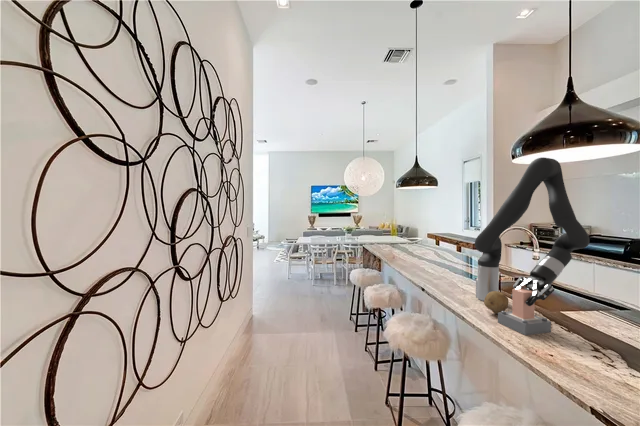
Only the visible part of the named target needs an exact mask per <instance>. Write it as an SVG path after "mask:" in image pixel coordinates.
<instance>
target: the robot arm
mask: <svg viewBox="0 0 640 426" xmlns="http://www.w3.org/2000/svg"><path fill="white" fill-rule="evenodd" d="M541 183H543V184H544V185H545V188H546V189H547V195H548V207H549V212H550V214H551V217H552V219H553V223H554V224H555V226H556V227H557V228H561V229H563V230H564V232H565V233H562V234H560V236H558V237H557V238H556V240H555V241H554V243H553V245H552V247H551V249H550V250H549V252H547V254H546V255H545V256H544V257H542V259H541V260H540V261H538V263H537V264H536V265H535V266H534V267H533V269H532V270H530V272H529V276H528V277H526V278H525V277H523V276H519V277H518V279H516V281H515V282H514V283H513V286H512V288H513V289H526V290H529V291H533V294H532V295H533V296H532V295H531V296H530V297H529V298H528V299H527V301H526V302H525V303H526V304H527V305H528V306H531V305H533V304H534V303H535V304H536V302H537V301H539V300H541V301H545V300H546V299H547V298H548V297H549V296H550V295H551V294H552V293H554V291H555V288H554V287H553V286H552V284H553V283H554V281H556V279H557V278H558V277H559V276H560V275H561V273H562V272H563V270H564V269H565V268H566V267H567V266H568V265H569V263H570V262H571V260H572V257H573V255H572V254H571V253H572V252H573V251H576V250H580V249H581V250H582V249H585V248H588V246H589V245H590V235H589V233H588V232H587V230H586V229H585V228H584V227H583V225H582V224H581V223H580V222H579V220H578V219H577V217H576V215H575V211H574V209H573V207H572V204H571V202H570V199H569V196H568V193H567V190H566V185H565V181H564V176H563V170H562V166H561V163H560V162H559V160H557V159H554V158H549V157H538V158H535V159H534V160H532V161H531V162H530V163H529V165H528V166H527V168H526V170H525V172H524V173H523V175H522V177H521V179H520V180H519V182H518V183H517V184H516V186H515V187H514V189H513V190H512V191H511V192H510V194H509V196H507V198H506V199H505V201H504V202H503V203H502V204H501V206H500V208H499V209H498V210H497V212H496V213H495V215H494V216H493V217H492V219H491V220H490V222H489V223H488V224H487V225H486V227H485V228H484V229H483V230H482V231H481V232H480V233H479V234H478V235H477V236H476V237H475V240H474V247H475V249H476V250H477V251H478V252H479V253H482V254H481V256H480V257H479V258H478V259H477V278H476V279H475V298H477V299H478V300H480V301H482V302H484V299H485V297H486V295H487V294H488V293H490V292H492V291H498V292H499V285H500V284H499V283H500V282H499V280H500V279H499V278H500V277H499V276H500V274H499V271H500V267H499V266H500V262H501V260H502V248H503V245H502V244H503V243H502V240H501V238H500V236H501V235H502V234H503V233H504V232H505V231H506V230H508V229H509V228H510V227H512V226H513V225H515V224H516V223H517V222H518V221H519V220H520V219H521V218H522V217H523V215H524V214H525V213H526V211H528V209H529V207H530V203H531V200H532V197H533V194H534V193H535V191H536V190H537V189H538V187H540V184H541ZM510 298H511V299H512V294H510Z"/></svg>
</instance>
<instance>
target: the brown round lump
mask: <svg viewBox="0 0 640 426" xmlns="http://www.w3.org/2000/svg"><path fill="white" fill-rule="evenodd" d="M509 303H510V301H509V298H508V296H506V294H505V293H504V292H502V291H499V290H498V291H492V292H490V293H488V294H487V295H486V297H485V299H484V301H483V305H484V306H485V307H486V308H487V309H488V310H490V311H491V312H493V313H494V314H496V315H498V313H499V312H501V311H506V310H507V308H508V306H509Z"/></svg>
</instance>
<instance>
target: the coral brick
mask: <svg viewBox="0 0 640 426" xmlns="http://www.w3.org/2000/svg"><path fill="white" fill-rule="evenodd" d="M532 294H533V291H532V290H526V289H523V288H521V289H515V288H513V289H512V292H511V295H512V298H511V299H512V300H511V301H512V303H511V304H512V306H511V311H512V314H513V315H515V316H518V317H520V318H522V319H528V318H534V315H535V309H536V308H535V304H536V302H535V303H534V304H533V305H531V306H528V305H527V304H526V303H525V302H526V301H527V299H528V298H529V297H530V296H531V295H532ZM532 296H533V295H532Z"/></svg>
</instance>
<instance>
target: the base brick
mask: <svg viewBox="0 0 640 426" xmlns="http://www.w3.org/2000/svg"><path fill="white" fill-rule="evenodd" d="M497 323H498V324H500V325H503V326H504V327H507V328H508V329H511V330H513V331H515V332H518V333H519V334H521V335H524V336H529V335H538V334H544V333H545V334H546V333H547V334H548V333H551V332H552V321H551V320H548V318H547V317H540V316H538V315H535V314H534V318H528V319H522V318H520V317H518V316H515V315H513V314H512V310H511V311H506V310H505V311H501V312H499V313H498V314H497Z"/></svg>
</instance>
